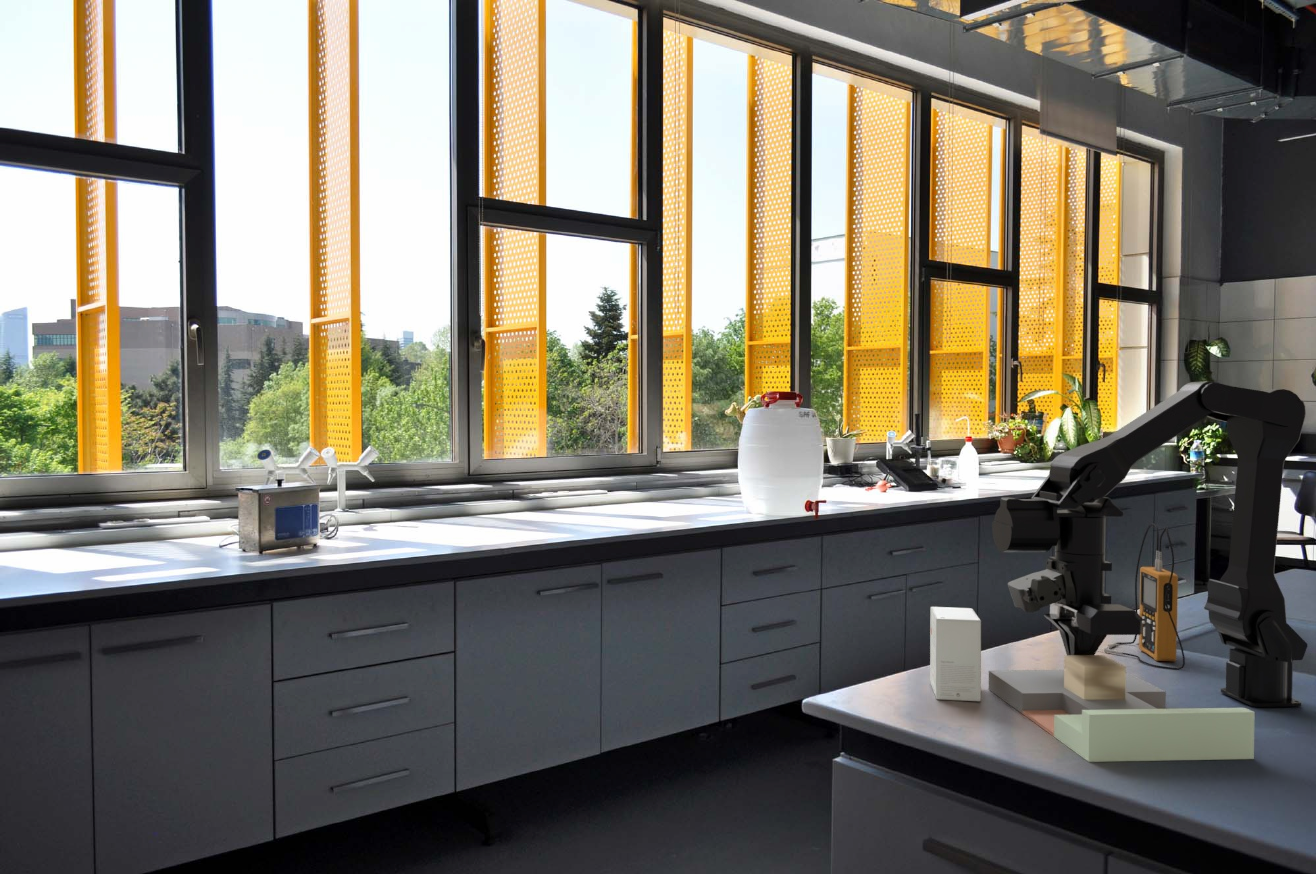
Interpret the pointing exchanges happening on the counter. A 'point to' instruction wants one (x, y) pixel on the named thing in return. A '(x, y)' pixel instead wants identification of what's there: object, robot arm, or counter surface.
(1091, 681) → the birch block
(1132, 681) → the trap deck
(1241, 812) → the counter surface
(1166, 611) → the multimeter
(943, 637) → the small box
